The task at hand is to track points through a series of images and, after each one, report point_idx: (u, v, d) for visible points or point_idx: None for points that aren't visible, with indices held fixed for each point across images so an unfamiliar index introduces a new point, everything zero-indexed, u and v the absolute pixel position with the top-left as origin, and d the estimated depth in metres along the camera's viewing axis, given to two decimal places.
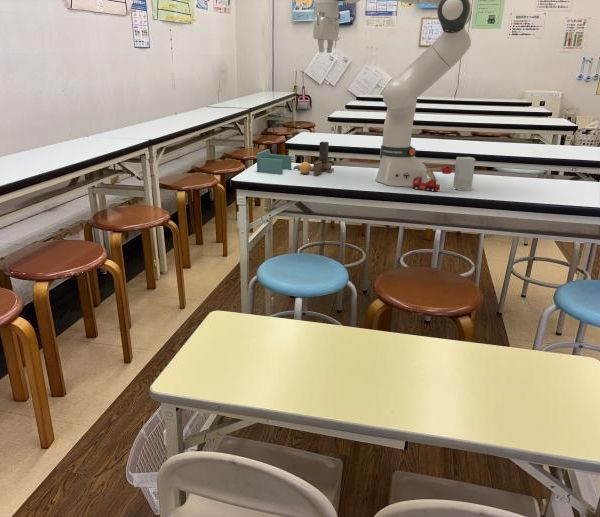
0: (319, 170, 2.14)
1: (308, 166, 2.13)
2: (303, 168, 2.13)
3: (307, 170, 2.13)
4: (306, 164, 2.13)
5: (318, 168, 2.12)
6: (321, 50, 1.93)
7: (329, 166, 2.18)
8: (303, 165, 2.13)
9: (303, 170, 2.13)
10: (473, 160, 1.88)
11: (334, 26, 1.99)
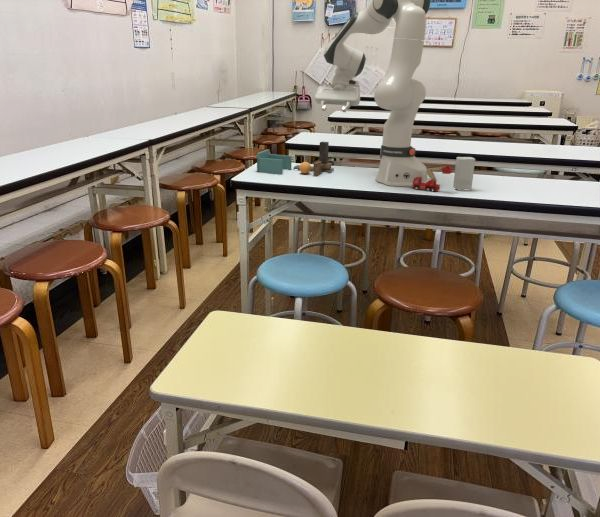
0: (319, 170, 2.14)
1: (308, 166, 2.13)
2: (303, 168, 2.13)
3: (307, 170, 2.13)
4: (306, 164, 2.13)
5: (318, 168, 2.12)
6: None
7: (329, 166, 2.18)
8: (303, 165, 2.13)
9: (303, 170, 2.13)
10: (473, 160, 1.88)
11: (350, 91, 2.23)
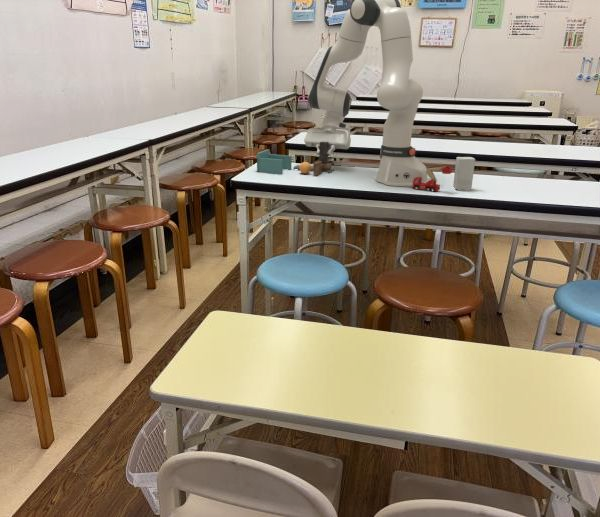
0: (319, 170, 2.14)
1: (308, 166, 2.13)
2: (303, 168, 2.13)
3: (307, 170, 2.13)
4: (306, 164, 2.13)
5: (318, 168, 2.12)
6: None
7: (329, 166, 2.18)
8: (303, 165, 2.13)
9: (303, 170, 2.13)
10: (473, 160, 1.88)
11: (340, 135, 2.18)
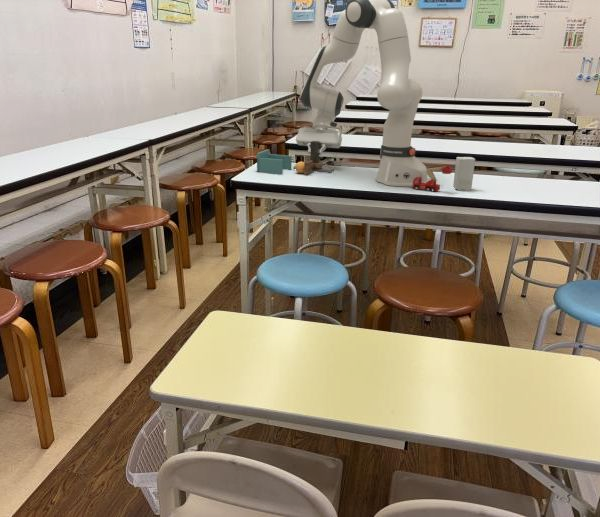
0: (310, 169, 2.15)
1: (302, 163, 2.13)
2: (299, 168, 2.13)
3: None
4: (299, 163, 2.14)
5: (309, 167, 2.13)
6: None
7: (320, 165, 2.20)
8: (297, 165, 2.14)
9: (300, 169, 2.13)
10: (473, 160, 1.88)
11: (331, 134, 2.19)
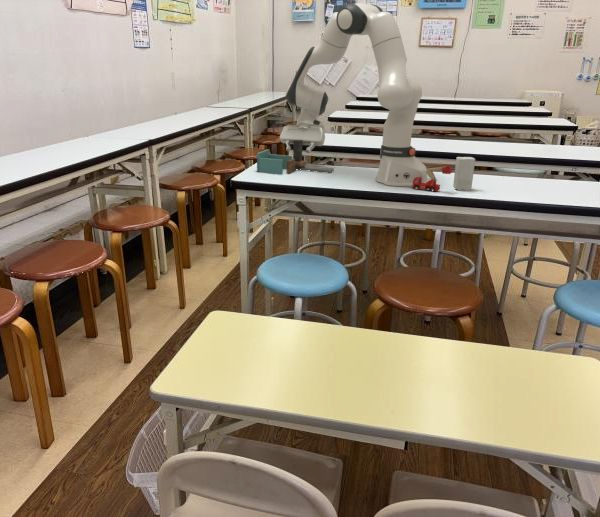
0: (293, 167, 2.18)
1: None
2: None
3: None
4: None
5: (291, 166, 2.16)
6: None
7: (303, 164, 2.22)
8: None
9: None
10: (473, 160, 1.88)
11: (314, 132, 2.22)
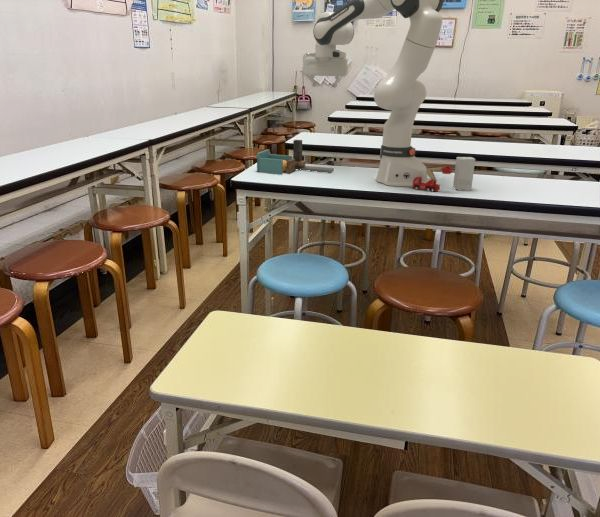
0: (293, 167, 2.18)
1: None
2: None
3: None
4: (283, 171, 2.18)
5: (291, 166, 2.16)
6: None
7: (303, 164, 2.22)
8: (283, 168, 2.16)
9: None
10: (473, 160, 1.88)
11: (336, 64, 2.18)
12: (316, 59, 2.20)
